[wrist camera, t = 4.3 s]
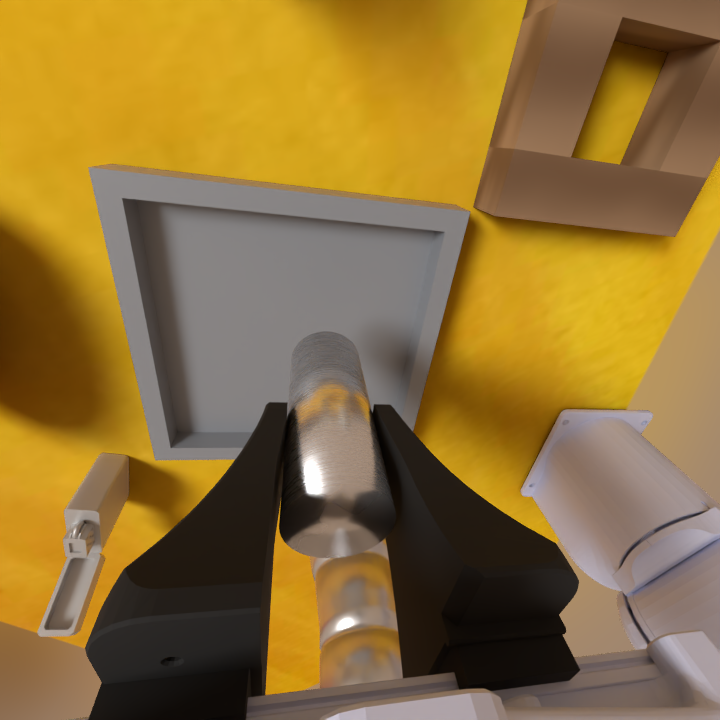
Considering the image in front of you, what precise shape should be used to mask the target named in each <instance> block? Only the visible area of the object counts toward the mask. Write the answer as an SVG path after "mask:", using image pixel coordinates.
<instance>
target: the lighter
mask: <svg viewBox="0 0 720 720" xmlns="http://www.w3.org/2000/svg"><path fill="white" fill-rule="evenodd" d="M128 496H129V457H128V456H126V455H119V454H110V453H101V454H100V455H99V456H98V458H97V459H96V461H95V463H94V464H93V466H92V467H91V469H90V470H89V472H88V474H87V475H86V477H85V478H84V480H83V481H82V483H81V485H80V486H79V488H78V489H77V491H76V492H75V494H74V496H73V497H72V499H71V500H70V502H69V504H68V505H67V507H66V508H65V510H64V515H65V522H66V529H67V533H66V535H65V537H64V538H63V542H64V549H65V556H66V557H67V560H66V562H65V565H64V567H63V570H62V572H61V575H60V577H59V580H58V582H57V585H56V587H55V590H54V592H53V595H52V597H51V600H50V602H49V605H48V607H47V610H46V612H45V615H44V617H43V620H42V622H41V625H40V627H39V630H38V632H37V633H38V635H39V636H71V635H75V634H77V633H78V632H79V631H80V630H81V627H82V624H83V621H84V618H85V616H86V613H87V610H88V607H89V604H90V601H91V598H92V595H93V593H94V590H95V587H96V584H97V581H98V578H99V575H100V573H101V570H102V567H103V564H104V561H105V557H104V555H102V554H100V552H102V550H103V548H104V546H105V544H106V542H107V539H108V537H109V535H110V533H111V531H112V529H113V527H114V525H115V523H116V521H117V519H118V517H119V515H120V513H121V510H122V508H123V506H124V504H125V502H126V500H127V498H128Z"/></svg>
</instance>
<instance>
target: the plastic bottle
mask: <svg viewBox="0 0 720 720" xmlns="http://www.w3.org/2000/svg"><path fill="white" fill-rule="evenodd" d="M310 562H311V568H312V573H313V577H314V580H315V586H316V596H317V606H318V616H319V625H320V650H321V654H320V689H321V688H329V687H337V686H345V685H354V684H362V683H370V682H378V681H386V680H394V679H403V675H402V665H401V655H400V645H399V635H398V627H397V618H396V610H395V601H394V594H393V586H392V579H391V571H390V564H389V558H388V551H387V544H386V539H384V540H383V541H382V542H380V543H379V544H377V545H376V546H374V547H372V548H371V549H369V550H366V551H364V552H362V553H359V554H356V555H352V556H347V557H341V558H318V557H312V556H310Z"/></svg>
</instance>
